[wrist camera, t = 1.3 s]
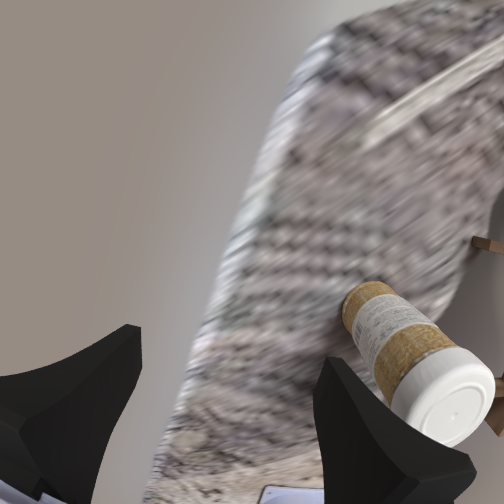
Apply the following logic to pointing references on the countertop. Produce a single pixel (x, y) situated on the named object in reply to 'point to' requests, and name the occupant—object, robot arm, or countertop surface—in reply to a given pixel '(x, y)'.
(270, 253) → the countertop surface
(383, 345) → the sprinkles bottle
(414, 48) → the countertop surface
